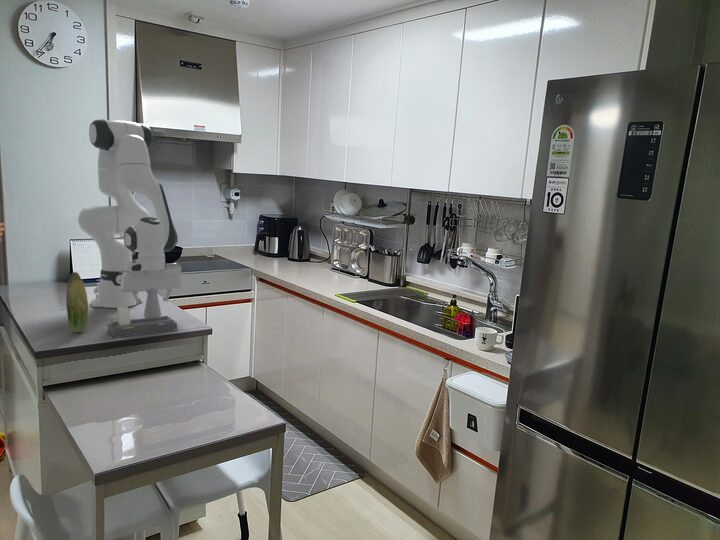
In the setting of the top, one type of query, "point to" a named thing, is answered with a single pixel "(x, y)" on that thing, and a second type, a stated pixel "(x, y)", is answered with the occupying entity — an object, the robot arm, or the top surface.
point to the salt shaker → (152, 304)
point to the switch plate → (142, 326)
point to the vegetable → (76, 303)
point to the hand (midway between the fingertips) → (152, 302)
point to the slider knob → (123, 316)
